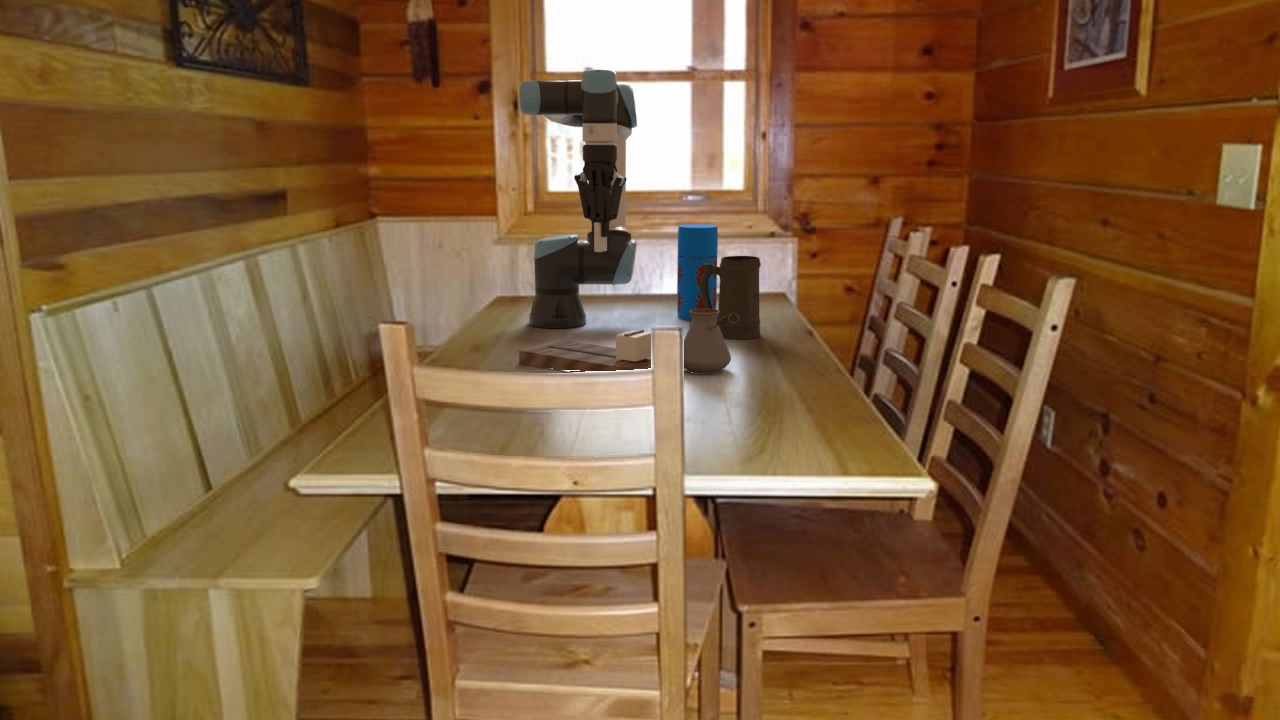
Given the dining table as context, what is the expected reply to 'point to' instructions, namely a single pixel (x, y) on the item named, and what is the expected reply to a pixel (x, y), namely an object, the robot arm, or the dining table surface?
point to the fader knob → (633, 345)
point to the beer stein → (736, 295)
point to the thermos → (695, 266)
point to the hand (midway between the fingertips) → (600, 251)
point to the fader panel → (577, 357)
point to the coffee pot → (706, 342)
